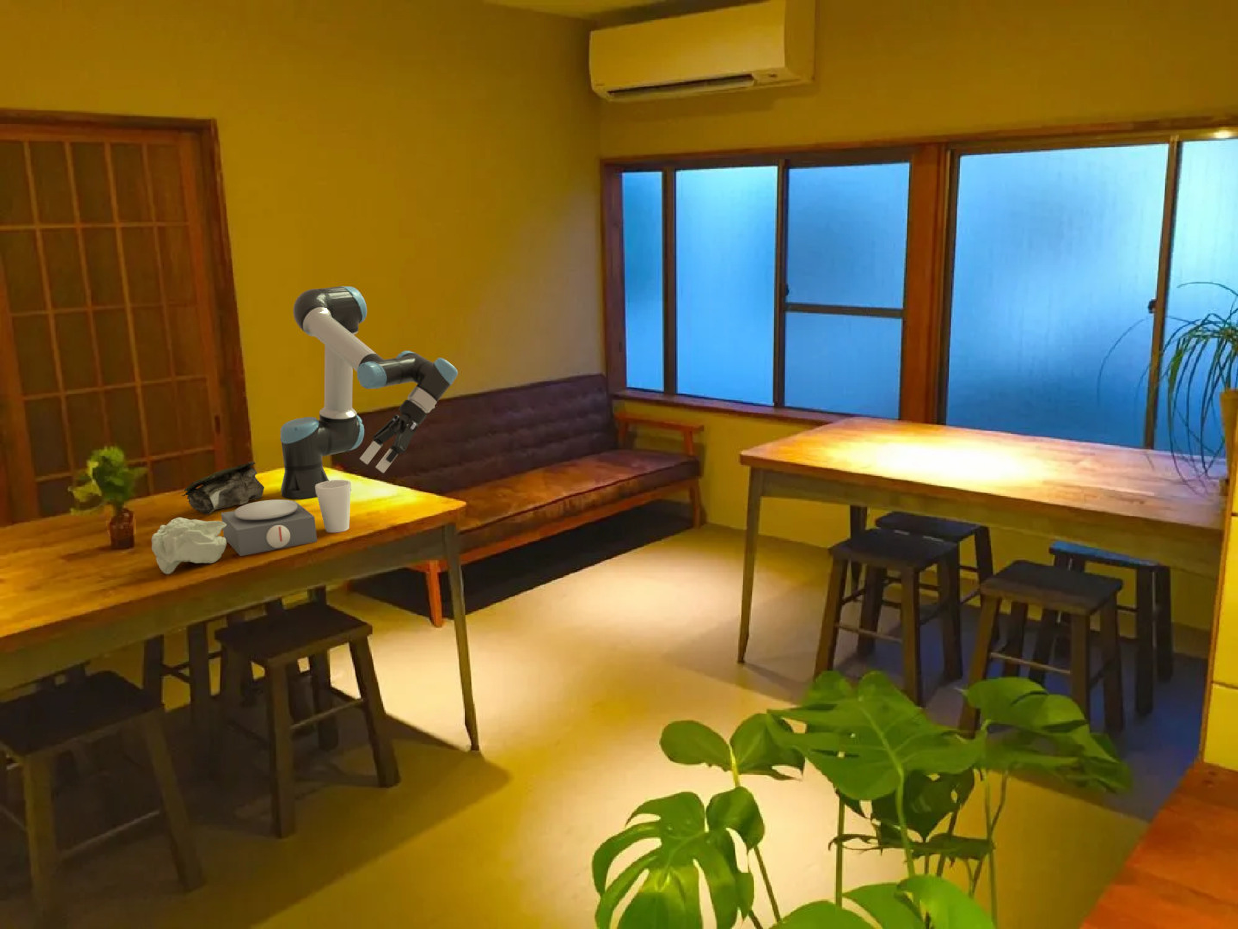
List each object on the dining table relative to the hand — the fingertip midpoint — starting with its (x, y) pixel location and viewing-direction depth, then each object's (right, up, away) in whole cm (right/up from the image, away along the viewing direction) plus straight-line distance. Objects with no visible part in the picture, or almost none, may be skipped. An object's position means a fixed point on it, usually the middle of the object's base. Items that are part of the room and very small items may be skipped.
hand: (371, 466), depth 289 cm
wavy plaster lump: (-39, -25, -28) cm, 54 cm away
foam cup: (-9, -18, -2) cm, 20 cm away
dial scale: (-25, -20, -9) cm, 34 cm away
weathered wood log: (-51, -13, +26) cm, 59 cm away
